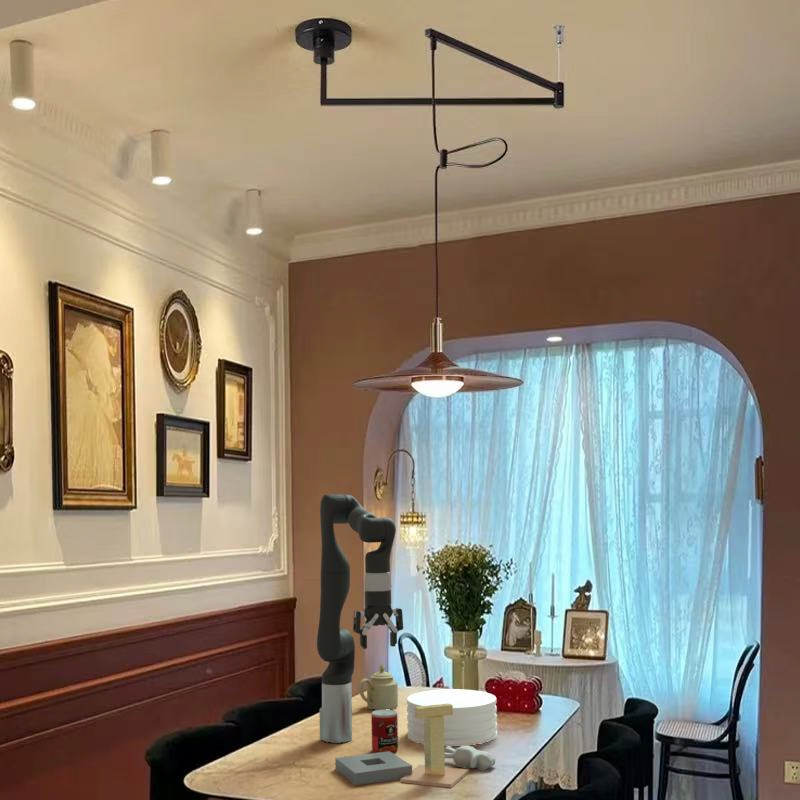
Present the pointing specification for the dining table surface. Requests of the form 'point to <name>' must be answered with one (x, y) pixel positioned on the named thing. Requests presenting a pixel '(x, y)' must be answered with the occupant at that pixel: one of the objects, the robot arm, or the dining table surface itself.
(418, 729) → the plate stack
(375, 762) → the cover plate
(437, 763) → the t key
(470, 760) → the bunny figurine
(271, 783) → the dining table surface
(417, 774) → the tile
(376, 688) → the sugar bowl
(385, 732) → the canned food
